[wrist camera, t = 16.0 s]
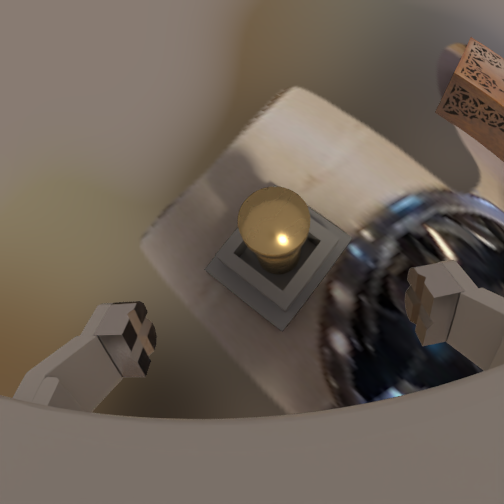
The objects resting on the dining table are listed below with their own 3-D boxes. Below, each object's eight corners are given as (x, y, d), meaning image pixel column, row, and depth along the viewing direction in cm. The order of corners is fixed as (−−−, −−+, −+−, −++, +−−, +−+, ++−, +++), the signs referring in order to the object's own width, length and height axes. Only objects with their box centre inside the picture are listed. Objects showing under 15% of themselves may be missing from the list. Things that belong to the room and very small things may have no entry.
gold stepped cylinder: (282, 290, 38) (279, 269, 27) (241, 257, 39) (222, 225, 29) (316, 248, 38) (324, 213, 28) (274, 218, 40) (268, 174, 30)
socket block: (282, 331, 38) (280, 330, 34) (206, 271, 41) (197, 263, 37) (350, 240, 39) (356, 229, 35) (275, 188, 43) (272, 173, 38)
